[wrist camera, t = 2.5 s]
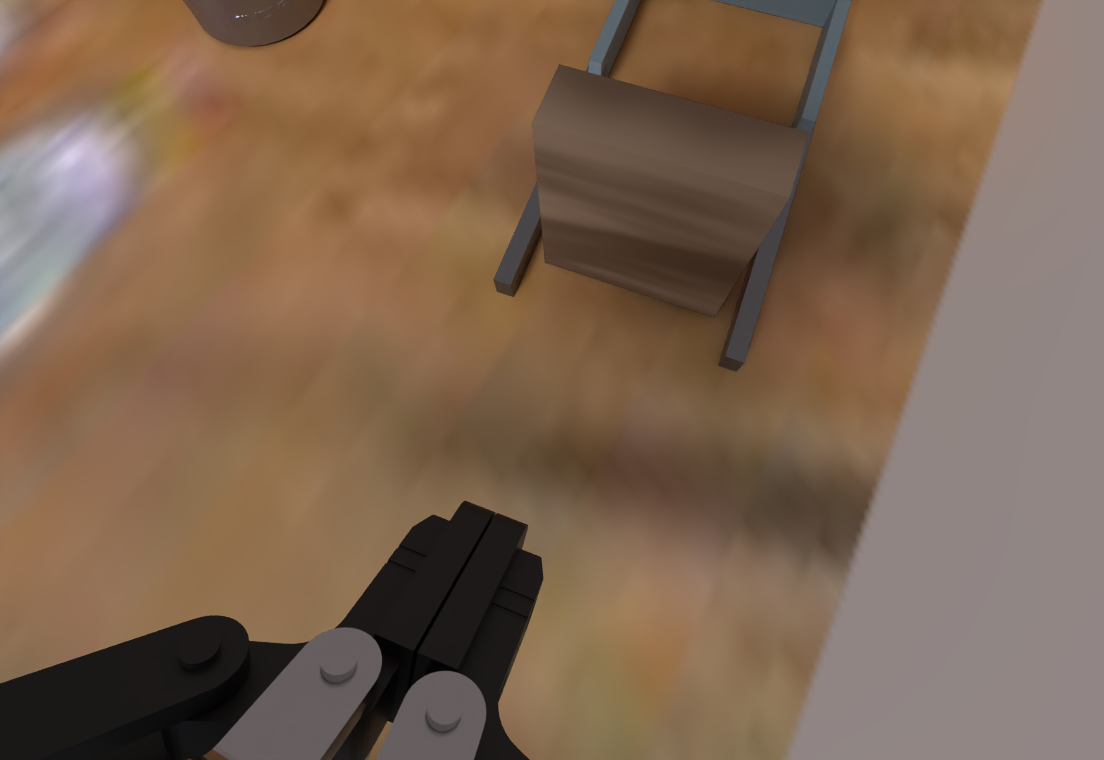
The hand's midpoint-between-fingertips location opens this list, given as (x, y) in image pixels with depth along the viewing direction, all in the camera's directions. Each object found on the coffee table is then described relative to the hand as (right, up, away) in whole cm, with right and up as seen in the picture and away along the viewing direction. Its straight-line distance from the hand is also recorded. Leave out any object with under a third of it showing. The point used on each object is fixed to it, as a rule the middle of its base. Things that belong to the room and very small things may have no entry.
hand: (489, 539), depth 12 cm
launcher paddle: (+6, +10, +20) cm, 23 cm away
